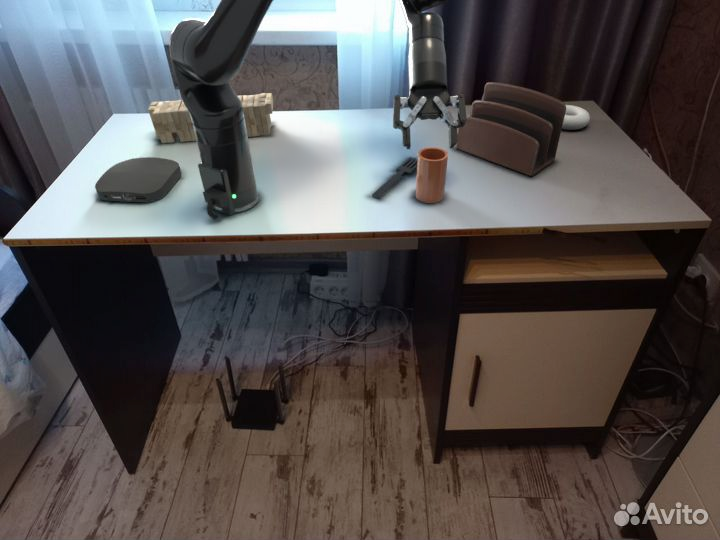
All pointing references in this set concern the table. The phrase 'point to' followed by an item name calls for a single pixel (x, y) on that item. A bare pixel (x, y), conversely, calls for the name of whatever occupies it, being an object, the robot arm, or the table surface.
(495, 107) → the letter holder
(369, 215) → the table surface
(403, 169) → the fork
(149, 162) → the media streaming box
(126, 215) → the table surface
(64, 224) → the table surface
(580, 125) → the donut
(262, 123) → the block tower
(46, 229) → the table surface
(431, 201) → the tumbler
